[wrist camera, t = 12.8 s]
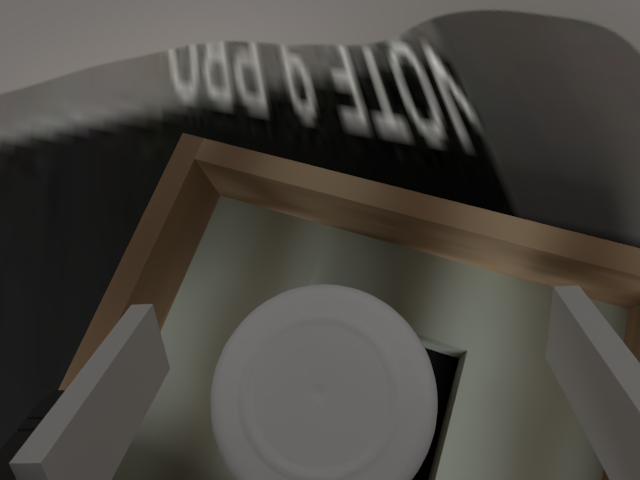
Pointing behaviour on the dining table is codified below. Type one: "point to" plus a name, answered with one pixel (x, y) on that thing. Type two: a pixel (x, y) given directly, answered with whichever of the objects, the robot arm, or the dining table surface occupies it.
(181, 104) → the dining table surface
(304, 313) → the sprinkles bottle
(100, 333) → the bore box
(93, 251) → the dining table surface
